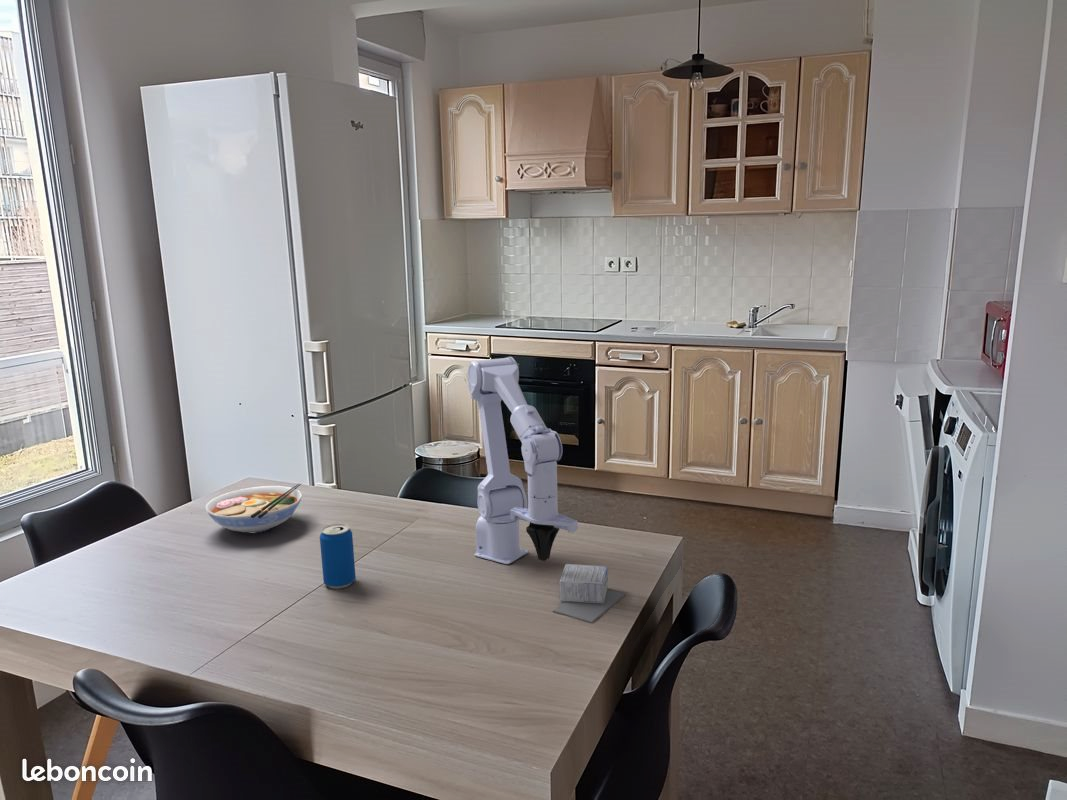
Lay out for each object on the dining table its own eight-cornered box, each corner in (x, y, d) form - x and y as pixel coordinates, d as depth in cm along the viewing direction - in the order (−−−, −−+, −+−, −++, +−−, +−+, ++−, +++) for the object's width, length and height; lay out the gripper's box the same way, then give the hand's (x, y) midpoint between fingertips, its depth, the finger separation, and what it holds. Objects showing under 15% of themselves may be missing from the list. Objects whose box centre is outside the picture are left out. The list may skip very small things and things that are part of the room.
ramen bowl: (240, 509, 205) (236, 480, 203) (321, 511, 202) (318, 482, 200) (186, 546, 181) (182, 513, 179) (277, 549, 177) (274, 516, 176)
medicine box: (559, 601, 148) (603, 604, 146) (558, 580, 147) (603, 583, 145) (565, 583, 156) (608, 586, 154) (565, 563, 155) (608, 565, 153)
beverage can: (362, 579, 161) (358, 525, 158) (342, 592, 155) (337, 536, 152) (337, 574, 163) (333, 521, 161) (317, 587, 158) (312, 532, 155)
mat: (553, 611, 145) (552, 610, 145) (587, 585, 155) (587, 584, 155) (591, 623, 140) (591, 621, 140) (624, 595, 150) (624, 593, 150)
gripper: (585, 494, 148) (585, 559, 151) (523, 482, 156) (525, 544, 159) (566, 504, 143) (567, 572, 145) (503, 492, 151) (505, 556, 153)
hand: (544, 558), depth 152 cm, fingers closed
